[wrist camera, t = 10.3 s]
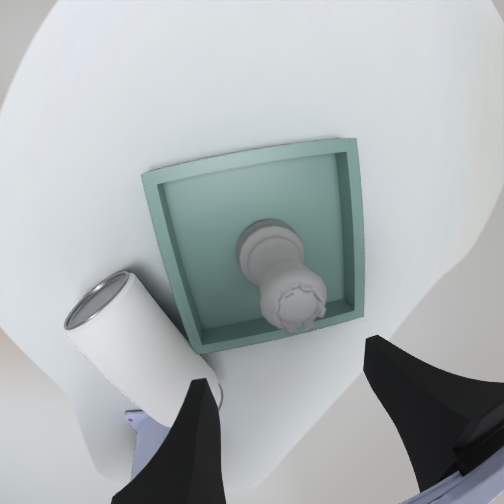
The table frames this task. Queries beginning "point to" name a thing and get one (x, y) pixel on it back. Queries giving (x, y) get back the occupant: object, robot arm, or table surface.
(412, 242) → the table surface
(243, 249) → the rook chess piece
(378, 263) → the table surface
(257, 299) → the tray
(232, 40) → the table surface
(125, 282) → the can
